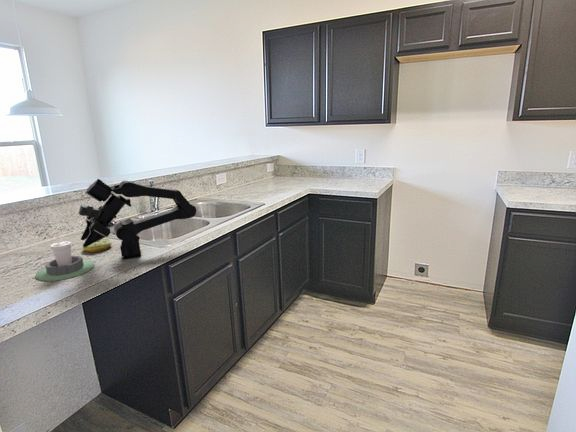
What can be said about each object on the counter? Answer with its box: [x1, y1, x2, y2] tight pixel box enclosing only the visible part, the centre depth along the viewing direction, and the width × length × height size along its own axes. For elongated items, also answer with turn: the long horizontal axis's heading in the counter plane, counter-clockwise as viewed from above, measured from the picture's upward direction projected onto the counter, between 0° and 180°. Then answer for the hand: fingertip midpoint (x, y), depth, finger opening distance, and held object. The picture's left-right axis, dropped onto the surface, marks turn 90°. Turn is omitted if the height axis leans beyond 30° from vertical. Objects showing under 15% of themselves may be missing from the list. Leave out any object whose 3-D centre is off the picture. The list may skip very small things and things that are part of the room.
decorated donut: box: [82, 237, 113, 253], centre depth 144 cm, size 10×11×4 cm
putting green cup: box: [35, 255, 95, 282], centre depth 122 cm, size 18×18×3 cm
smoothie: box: [50, 232, 73, 266], centre depth 121 cm, size 6×6×14 cm
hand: (82, 243), depth 124 cm, fingers open, 9 cm apart
